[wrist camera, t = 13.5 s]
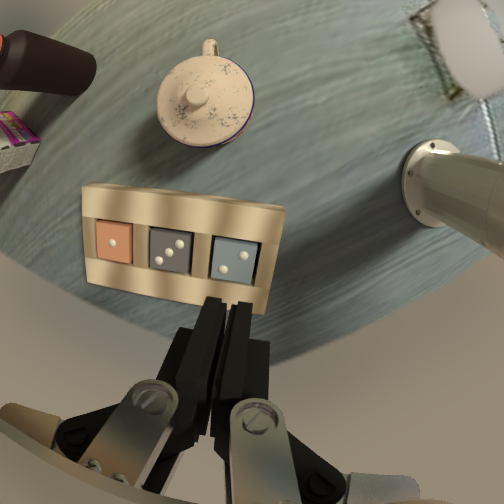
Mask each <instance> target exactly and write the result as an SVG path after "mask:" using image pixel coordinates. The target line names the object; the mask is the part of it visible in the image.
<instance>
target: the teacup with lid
mask: <svg viewBox="0 0 504 504" xmlns="http://www.w3.org/2000/svg"><path fill="white" fill-rule="evenodd" d="M253 107H254V89H253V85H252V83H251V80H250V78H249V77H248V75H247V74H246V72H245V71H244V70H243V69H242V68H241V67H240V66H239V65H237V64H236V63H234V62H233V61H231V60H229V59H226V58H224V57H220V56H219V51H218V46H217V43H216V41H215V40H213V39H208V40H205V41H204V42H203V44H202V49H201V56H197V57H193V58H190V59H188V60H185V61H183V62H181V63H180V64H178V65H177V66H175V67H174V68H173V69H172V70H171V71H170V72H169V73H168V74H167V75H166V77H165V78H164V79H163V81H162V83H161V85H160V87H159V90H158V93H157V98H156V111H157V116H158V119H159V122H160V124H161V126H162V127H163V129H164V130H165V132H166V133H167V134H168V135H169V136H170V137H172V138H173V139H174V140H176V141H177V142H179V143H181V144H184V145H186V146H190V147H196V148H207V147H213V146H217V145H220V144H225V143H228V142H231V141H233V140H235V139H236V138H238V137H239V136H240V135H241V134H243V132H244V131H245V130H246V129H247V127H248V126H249V124H250V122H251V119H252V116H253Z"/></svg>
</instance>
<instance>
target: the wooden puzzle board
mask: <svg viewBox="0 0 504 504" xmlns="http://www.w3.org/2000/svg"><path fill="white" fill-rule="evenodd" d="M285 214H286V212H285V209H284V207H283V206H278V205H272V204H266V203H259V202H253V201H247V200H240V199H233V198H227V197H220V196H212V195H205V194H197V193H190V192H182V191H173V190H165V189H156V188H146V187H136V186H126V185H115V184H103V183H91V184H88V185H85V186H83V187H82V222H83V241H84V254H85V265H86V274H87V282H89V283H93V284H98V285H102V286H106V287H111V288H115V289H119V290H124V291H129V292H133V293H138V294H143V295H148V296H153V297H158V298H163V299H168V300H174V301H179V302H184V303H190V304H196V305H202V306H203V304H204V301H205V299H206V296H211V297H217V298H222V302H223V303H227V310H230V309H231V305H232V304H235V305H237V304H238V301H242V302H249V303H253V309H252V313H254V314H261V315H264V314H265V310H266V305H267V300H268V296H269V291H270V287H271V282H272V277H273V273H274V268H275V263H276V258H277V253H278V248H279V244H280V239H281V234H282V229H283V224H284V219H285ZM101 219H107V220H114V221H121V222H128V223H133V260H132V261H131V262H130V263H124V262H118V261H113V260H108V259H103V258H98V252H97V233H96V222H98V221H99V220H101ZM155 226H156V227H163V228H170V229H177V230H184V231H191V232H195V237H194V248H193V261H192V266H191V268H190V270H189V271H188V273H187V274H186V273H180V272H174V271H168V270H162V269H157V268H151V267H150V239H151V230H152V229H153V228H154V227H155ZM214 235H217V236H224V237H230V238H237V239H244V240H250V241H256V242H261V243H260V249H259V254H258V260H257V265H256V271H255V276H252V280H251V284H249V283H242V282H235V281H229V280H222V279H216V278H211V271H212V270H211V260H212V251H213V242H214Z"/></svg>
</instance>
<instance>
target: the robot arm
mask: <svg viewBox="0 0 504 504" xmlns="http://www.w3.org/2000/svg"><path fill="white" fill-rule="evenodd" d="M408 172H409V173H408ZM401 186H402V194H403V199H404V202H405V204H406V207H407V209H408V210H409V212H410V214H411V215H412V216H413V217H414V218H415V219H416V220H418V221H419V222H420V223H422V224H424V225H426V226H429V227H442V226H445V225H448V226H450V227H452V228H453V229H455V230H457V231H459V232H460V233H462V234H464V235H465V236H467V237H469V238H470V239H472V240H474V241H475V242H477V243H479V244H480V245H482V246H483V247H485V248H486V249H488V250H490V251H491V252H493V253H494V254H496V255H497V256H499V257H500V258H502V259H504V162H503V161H498V160H494V159H489V158H484V157H479V156H474V155H468V154H462V153H461V152H460V151H459V150H458V149H457V148H456V147H455V146H454V145H453V144H451V143H450V142H448V141H445V140H442V139H428V140H425V141H423V142H421V143H419V144H418V145H417V146H416V147H415V148H414V149H413V150H412V151H411V152H410V154H409V155H408V157H407V159H406V162H405V164H404V168H403V172H402V180H401ZM252 309H253V303H249V302H242V301H238V304H237V305H235V304H232V305H231V309H230V313H229V317H228V321H227V326H226V330H225V320H226V310H227V303H223V302H222V298H217V297H211V296H206V299H205V301H204V304H203V306H202V309H201V311H200V314H199V316H198V319H197V322H196V324H195V327H194V329H188V328H183V327H180V328H179V329H178V331H177V333H176V335H175V337H174V339H173V341H172V344H171V346H170V348H169V351H168V353H167V355H166V357H165V360H164V362H163V364H162V366H161V369H160V371H159V373H158V375H157V378H156V380H154V379H153V380H152V379H149V380H144V381H140V382H138V383H137V384H135V385H134V386H133V387H132V388H131V389H130V390H129V391H128V393H127V394H126V395H125V397H124V398H123V400H122V401H121V402H120V403H118V404H115V405H112V406H109V407H106V408H103V409H100V410H96V411H93V412H90V413H87V414H83V415H80V416H76V417H73V418H69V419H67V420H61V419H60V417H59V416H55V415H52V414H48V413H45V412H41V411H38V410H34V409H31V408H28V407H25V406H22V405H19V404H16V403H8V404H5V405H4V406H3V407H1V409H0V504H197V503H192V502H187V501H183V500H178V499H174V498H170V497H166V496H164V494H165V492H166V490H167V488H168V485H169V484H170V481H171V479H172V477H173V475H174V473H175V471H176V469H177V467H178V465H179V462H180V460H181V458H182V456H183V452H184V450H186V449H188V448H190V447H193V446H194V443H195V442H198V439H199V435H204V436H205V434H206V430H207V426H208V421H209V416H210V411H211V428H210V437H215V442H214V450H215V451H216V453H217V454H218V455H219V456H220V457H221V458H222V459H223V460H224V461H223V469H224V490H225V504H452V503H449V502H445V501H441V500H432V499H420V490H419V485H418V483H417V482H416V480H415V479H413V478H411V477H409V476H404V475H377V474H366V473H355V472H351V474H344V473H340V472H339V471H338V470H337V469H336V468H335V467H333V466H332V465H330V464H329V463H328V462H326V461H325V460H324V459H322V458H320V456H318V455H317V454H316V453H314V452H313V451H312V450H311V449H309V448H308V447H307V446H306V445H304V444H303V443H302V442H301V441H299V440H298V439H297V438H296V437H294V436H293V435H292V434H291V433H290V432H288V431H287V428H286V424H285V419H284V416H283V413H282V411H281V410H280V409H279V408H278V406H276V405H275V404H273V403H272V402H270V401H268V387H269V353H270V342H269V341H262V340H255V339H249V335H250V326H251V317H252ZM224 330H225V334H224ZM211 407H212V410H211Z"/></svg>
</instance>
